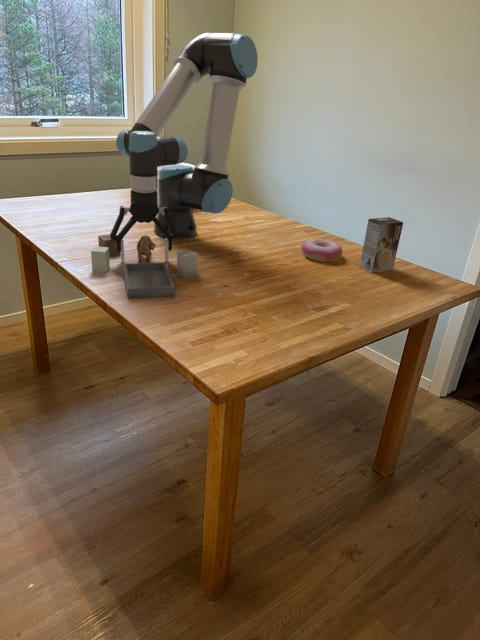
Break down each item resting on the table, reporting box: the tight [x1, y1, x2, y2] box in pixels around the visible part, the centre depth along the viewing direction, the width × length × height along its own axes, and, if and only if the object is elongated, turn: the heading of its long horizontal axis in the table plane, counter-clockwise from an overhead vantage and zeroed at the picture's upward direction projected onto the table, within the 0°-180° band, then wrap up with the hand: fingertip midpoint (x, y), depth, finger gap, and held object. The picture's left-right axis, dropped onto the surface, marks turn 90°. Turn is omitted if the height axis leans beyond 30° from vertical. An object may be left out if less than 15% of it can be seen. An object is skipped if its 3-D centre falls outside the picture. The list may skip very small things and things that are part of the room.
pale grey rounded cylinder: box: [176, 250, 199, 279], centre depth 138 cm, size 6×6×6 cm
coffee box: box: [359, 216, 404, 274], centre depth 152 cm, size 9×6×16 cm
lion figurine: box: [136, 234, 157, 263], centre depth 145 cm, size 15×5×9 cm, turn 16°
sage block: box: [90, 245, 111, 273], centre depth 137 cm, size 4×4×6 cm
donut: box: [301, 238, 343, 263], centre depth 161 cm, size 14×13×5 cm
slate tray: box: [122, 261, 176, 299], centre depth 130 cm, size 12×18×3 cm, turn 16°
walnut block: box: [97, 233, 121, 256], centre depth 149 cm, size 5×5×5 cm
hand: (144, 261), depth 146 cm, fingers open, 12 cm apart
